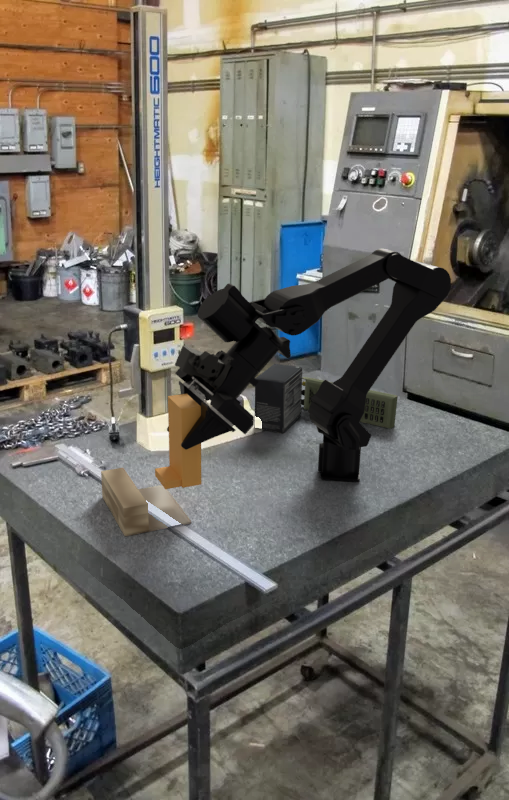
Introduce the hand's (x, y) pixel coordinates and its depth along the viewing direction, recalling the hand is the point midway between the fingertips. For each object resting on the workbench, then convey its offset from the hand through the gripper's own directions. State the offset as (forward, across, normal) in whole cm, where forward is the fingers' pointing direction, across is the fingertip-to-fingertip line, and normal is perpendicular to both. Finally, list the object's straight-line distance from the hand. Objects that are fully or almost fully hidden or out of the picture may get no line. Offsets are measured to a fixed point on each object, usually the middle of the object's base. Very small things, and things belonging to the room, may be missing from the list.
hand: (175, 439), depth 114 cm
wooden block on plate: (+10, 0, +5) cm, 11 cm away
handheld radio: (-22, -25, +38) cm, 50 cm away
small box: (-13, -25, +29) cm, 40 cm away
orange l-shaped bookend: (+5, 0, +5) cm, 7 cm away
